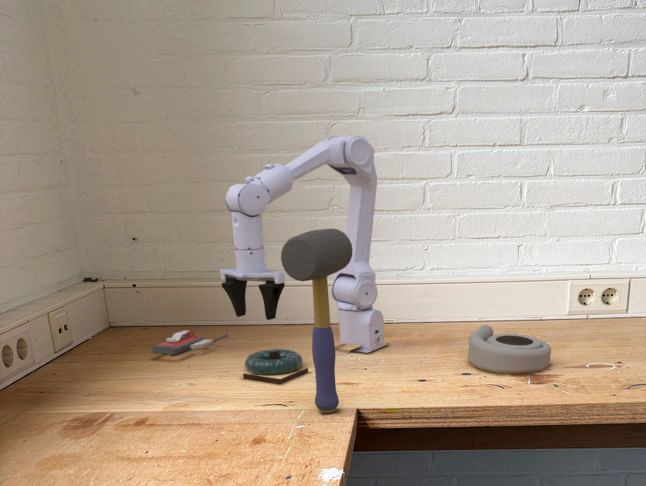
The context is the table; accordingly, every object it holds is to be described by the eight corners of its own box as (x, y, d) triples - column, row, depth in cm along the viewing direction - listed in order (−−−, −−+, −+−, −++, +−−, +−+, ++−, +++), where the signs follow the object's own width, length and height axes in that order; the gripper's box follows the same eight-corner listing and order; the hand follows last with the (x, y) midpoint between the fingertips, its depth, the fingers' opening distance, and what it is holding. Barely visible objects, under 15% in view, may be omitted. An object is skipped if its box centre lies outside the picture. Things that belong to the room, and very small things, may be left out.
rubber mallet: (329, 425, 128) (318, 234, 118) (289, 420, 131) (274, 233, 121) (363, 402, 139) (355, 226, 129) (325, 398, 142) (314, 225, 132)
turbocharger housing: (536, 384, 151) (556, 364, 164) (540, 351, 148) (560, 333, 161) (453, 370, 157) (479, 352, 170) (455, 337, 155) (481, 322, 167)
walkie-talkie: (183, 363, 167) (232, 341, 185) (180, 343, 166) (230, 322, 184) (147, 361, 170) (199, 339, 188) (144, 340, 168) (197, 321, 186)
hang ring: (313, 365, 159) (312, 350, 158) (280, 379, 150) (278, 364, 149) (269, 359, 164) (268, 345, 163) (234, 373, 155) (232, 358, 154)
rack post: (308, 372, 158) (306, 347, 157) (280, 384, 151) (278, 357, 149) (272, 367, 163) (270, 342, 161) (243, 378, 155) (240, 352, 154)
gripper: (207, 249, 155) (214, 318, 160) (266, 252, 148) (272, 324, 153) (231, 245, 161) (237, 311, 165) (289, 247, 154) (294, 317, 159)
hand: (255, 317), depth 160 cm, fingers open, 7 cm apart
